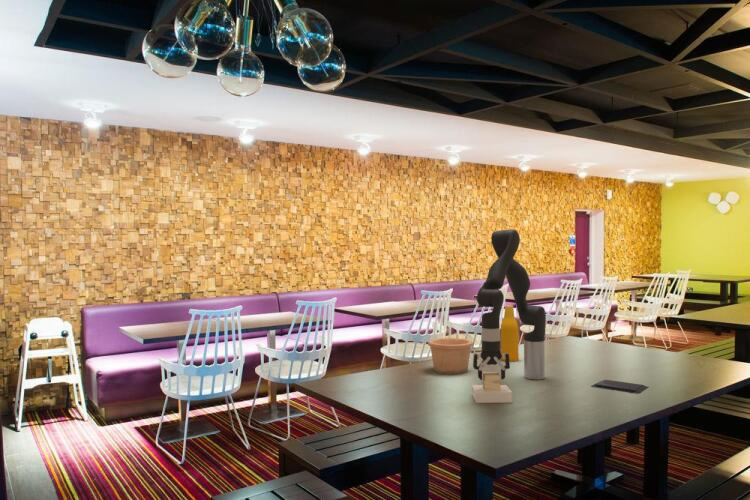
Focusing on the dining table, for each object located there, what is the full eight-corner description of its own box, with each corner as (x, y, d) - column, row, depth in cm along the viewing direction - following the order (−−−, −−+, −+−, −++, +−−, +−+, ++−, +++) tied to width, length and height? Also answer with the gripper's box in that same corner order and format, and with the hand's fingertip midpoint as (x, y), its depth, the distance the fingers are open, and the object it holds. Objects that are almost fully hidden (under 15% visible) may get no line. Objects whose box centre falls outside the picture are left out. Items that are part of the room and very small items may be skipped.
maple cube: (482, 386, 231) (482, 372, 231) (497, 386, 230) (497, 372, 230) (485, 390, 225) (485, 375, 225) (500, 390, 224) (500, 375, 224)
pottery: (481, 372, 274) (481, 343, 274) (441, 377, 266) (441, 346, 266) (459, 364, 294) (458, 336, 294) (421, 368, 286) (420, 340, 286)
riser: (471, 394, 234) (471, 385, 234) (506, 394, 233) (505, 384, 233) (476, 402, 222) (476, 392, 222) (512, 402, 221) (512, 392, 221)
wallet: (589, 383, 245) (603, 377, 256) (589, 388, 245) (603, 381, 256) (638, 391, 231) (650, 384, 242) (638, 395, 231) (650, 388, 242)
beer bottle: (497, 359, 306) (496, 305, 306) (511, 357, 310) (510, 304, 310) (508, 362, 298) (507, 307, 297) (522, 360, 302) (521, 306, 301)
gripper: (506, 337, 231) (507, 377, 231) (471, 337, 231) (472, 377, 232) (510, 340, 223) (511, 381, 224) (474, 340, 224) (475, 381, 224)
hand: (491, 379), depth 228 cm, fingers open, 8 cm apart
